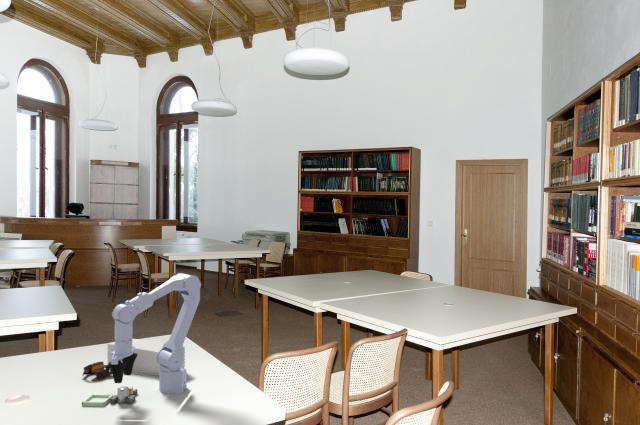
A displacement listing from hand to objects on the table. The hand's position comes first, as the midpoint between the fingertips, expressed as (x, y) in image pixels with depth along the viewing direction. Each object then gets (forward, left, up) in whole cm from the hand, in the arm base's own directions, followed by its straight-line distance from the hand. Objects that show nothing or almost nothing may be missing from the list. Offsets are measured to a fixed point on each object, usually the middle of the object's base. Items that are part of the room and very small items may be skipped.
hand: (123, 378), depth 166 cm
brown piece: (+20, -24, -10) cm, 33 cm away
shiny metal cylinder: (0, 0, -8) cm, 8 cm away
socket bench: (+4, -4, -9) cm, 11 cm away
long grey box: (+6, -37, -10) cm, 38 cm away
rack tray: (+8, 0, -8) cm, 12 cm away
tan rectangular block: (+2, -7, -8) cm, 10 cm away
